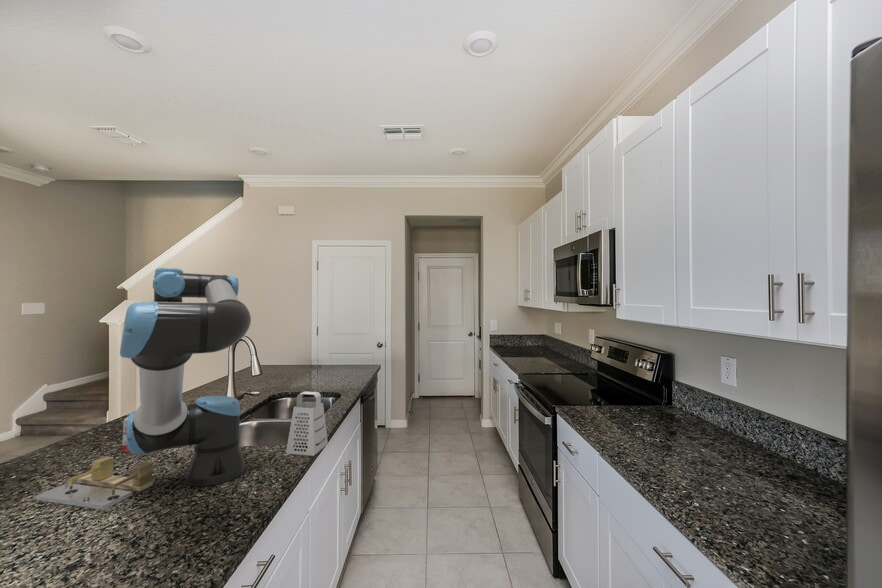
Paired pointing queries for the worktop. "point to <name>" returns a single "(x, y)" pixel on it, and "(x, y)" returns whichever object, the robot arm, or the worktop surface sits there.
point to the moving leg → (97, 470)
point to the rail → (125, 479)
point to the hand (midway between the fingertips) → (165, 388)
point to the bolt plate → (84, 496)
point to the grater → (307, 426)
